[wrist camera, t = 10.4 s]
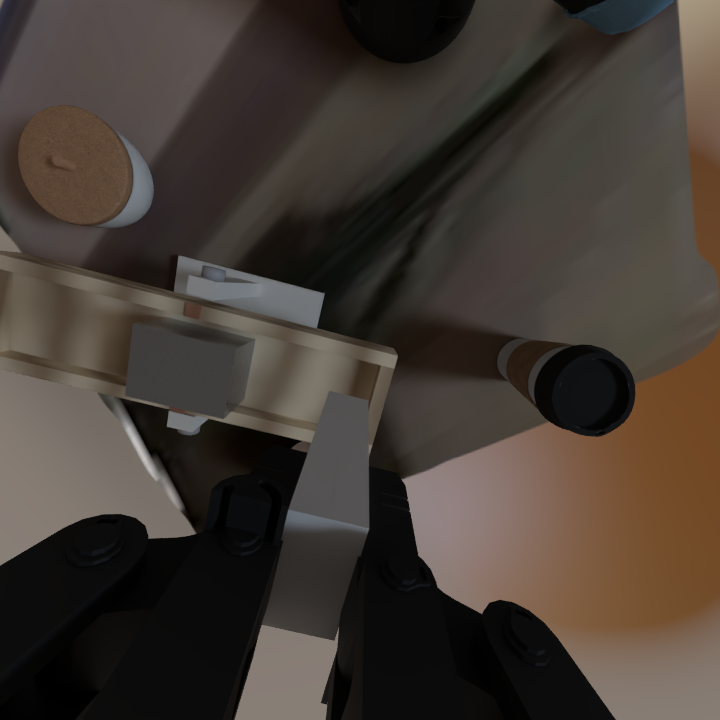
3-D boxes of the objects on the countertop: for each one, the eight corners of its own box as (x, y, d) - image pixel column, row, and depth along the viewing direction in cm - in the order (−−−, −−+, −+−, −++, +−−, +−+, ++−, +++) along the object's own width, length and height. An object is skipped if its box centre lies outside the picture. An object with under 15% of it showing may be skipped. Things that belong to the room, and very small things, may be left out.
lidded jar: (133, 120, 39) (62, 68, 30) (188, 206, 41) (138, 181, 31) (63, 172, 40) (-26, 137, 31) (120, 252, 42) (52, 242, 33)
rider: (161, 379, 32) (125, 395, 27) (169, 317, 30) (132, 323, 26) (244, 398, 32) (223, 419, 27) (255, 339, 31) (236, 349, 26)
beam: (18, 354, 33) (-28, 363, 29) (22, 252, 31) (-27, 248, 27) (368, 438, 35) (369, 457, 31) (393, 348, 33) (398, 356, 29)
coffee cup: (492, 397, 45) (554, 449, 31) (482, 337, 44) (542, 362, 29) (554, 382, 45) (648, 428, 30) (546, 321, 43) (641, 339, 28)
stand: (168, 377, 45) (83, 416, 31) (185, 255, 42) (98, 239, 28) (297, 409, 46) (270, 460, 32) (325, 291, 43) (307, 293, 29)
